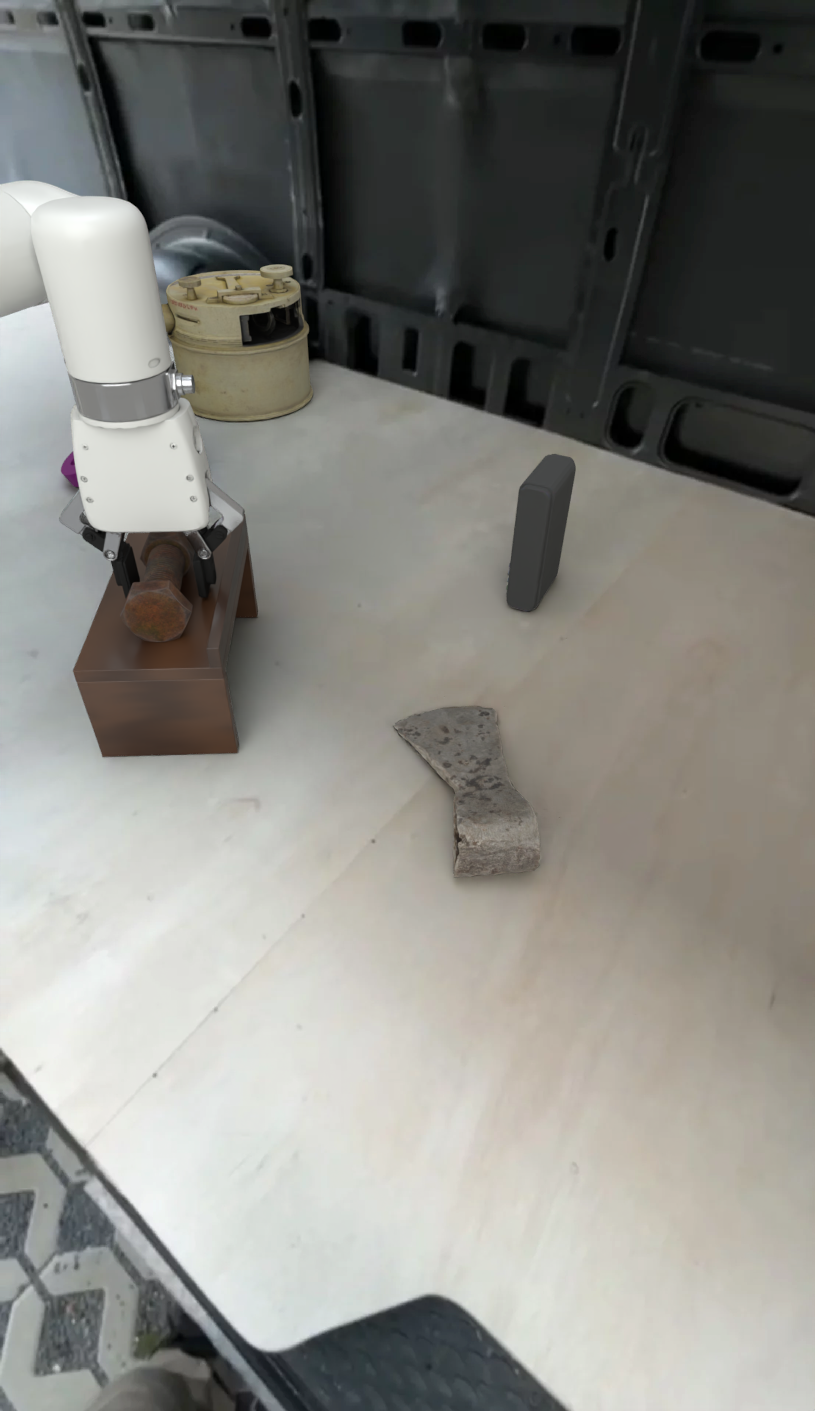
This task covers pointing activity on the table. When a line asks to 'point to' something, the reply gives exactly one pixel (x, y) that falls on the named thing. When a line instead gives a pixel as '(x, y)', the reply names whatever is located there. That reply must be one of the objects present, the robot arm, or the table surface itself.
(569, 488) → the card reader
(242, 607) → the shelf
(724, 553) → the table surface
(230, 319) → the mechanical device
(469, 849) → the axe head
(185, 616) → the bolt
